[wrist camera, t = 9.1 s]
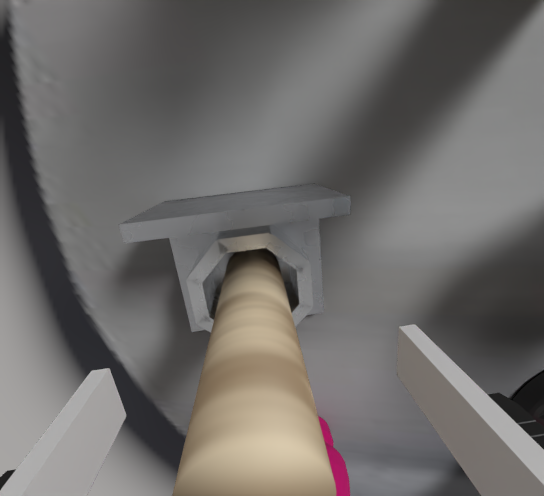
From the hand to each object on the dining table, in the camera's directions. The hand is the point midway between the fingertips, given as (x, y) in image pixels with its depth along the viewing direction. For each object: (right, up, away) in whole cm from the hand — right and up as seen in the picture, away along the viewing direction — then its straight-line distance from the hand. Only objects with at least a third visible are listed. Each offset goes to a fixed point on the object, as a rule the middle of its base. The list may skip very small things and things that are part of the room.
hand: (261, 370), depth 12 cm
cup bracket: (-1, +4, +11) cm, 12 cm away
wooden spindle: (-1, +4, +10) cm, 11 cm away
